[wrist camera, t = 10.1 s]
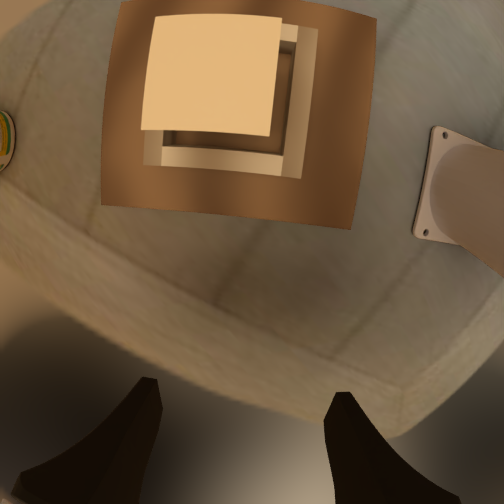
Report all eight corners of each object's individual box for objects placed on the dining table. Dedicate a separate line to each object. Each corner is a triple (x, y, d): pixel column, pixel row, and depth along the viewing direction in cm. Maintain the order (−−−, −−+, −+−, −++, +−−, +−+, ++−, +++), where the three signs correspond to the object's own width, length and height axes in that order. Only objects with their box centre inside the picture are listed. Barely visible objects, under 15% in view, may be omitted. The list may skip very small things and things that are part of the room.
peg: (271, 69, 14) (282, 17, 7) (263, 135, 16) (269, 136, 8) (200, 65, 14) (155, 16, 7) (193, 130, 16) (140, 130, 8)
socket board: (371, 23, 13) (392, 5, 10) (346, 225, 19) (363, 244, 15) (127, 7, 13) (104, -11, 10) (108, 201, 18) (82, 215, 15)
